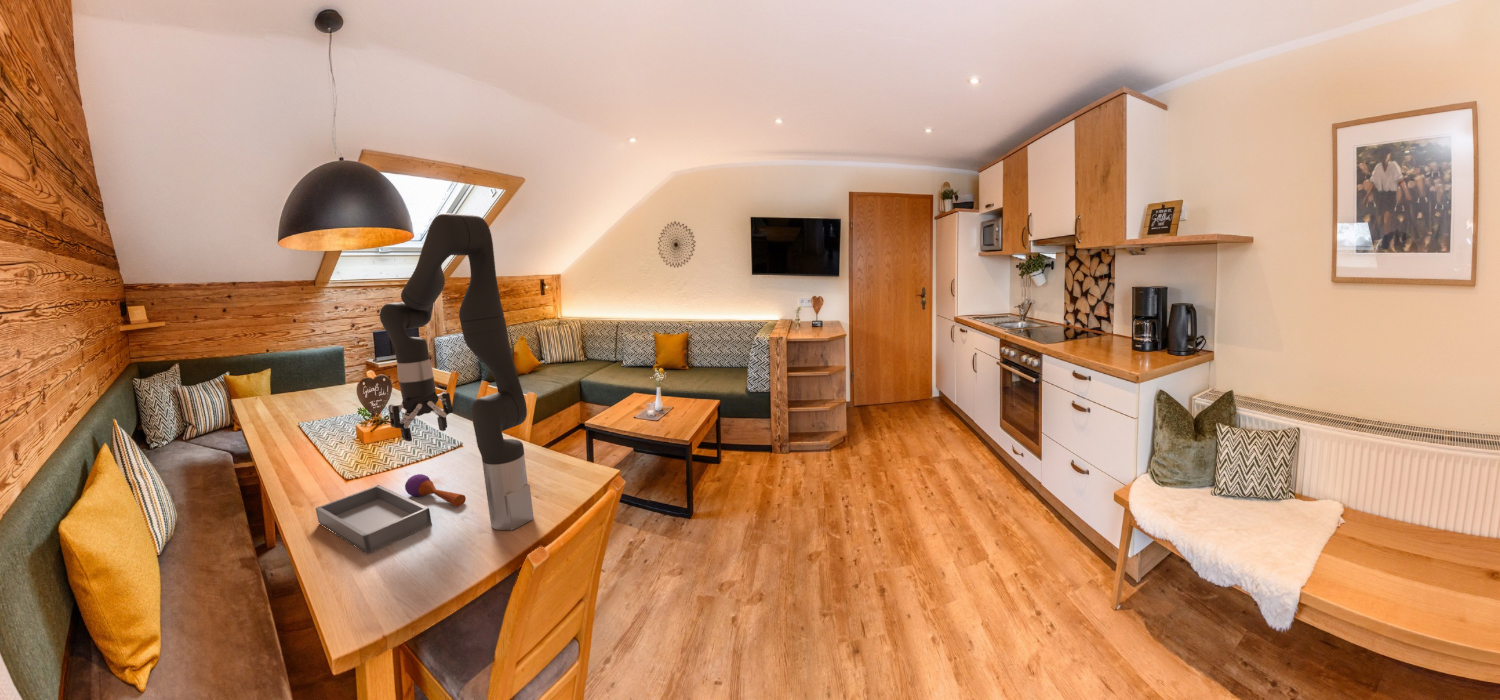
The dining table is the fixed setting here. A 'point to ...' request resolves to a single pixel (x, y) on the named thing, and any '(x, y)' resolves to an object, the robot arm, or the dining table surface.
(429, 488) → the purple and brown maraca
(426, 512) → the box
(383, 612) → the dining table surface
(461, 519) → the dining table surface
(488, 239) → the robot arm
